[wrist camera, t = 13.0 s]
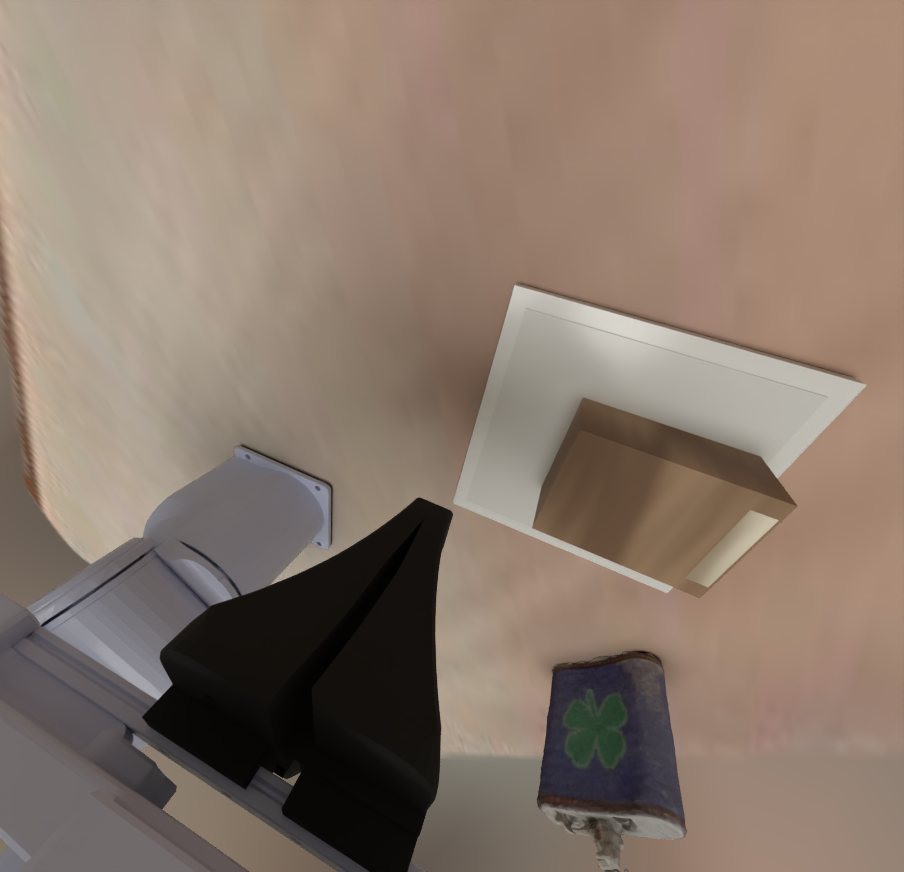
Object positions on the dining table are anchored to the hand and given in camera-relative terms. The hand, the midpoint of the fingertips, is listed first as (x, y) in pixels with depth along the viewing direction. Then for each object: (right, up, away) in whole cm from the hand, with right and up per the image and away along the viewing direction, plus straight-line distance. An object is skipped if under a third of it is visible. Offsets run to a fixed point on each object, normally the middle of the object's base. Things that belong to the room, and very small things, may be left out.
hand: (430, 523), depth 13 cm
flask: (+13, -15, +15) cm, 25 cm away
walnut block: (+6, +2, +5) cm, 8 cm away
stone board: (+9, +2, +6) cm, 11 cm away
